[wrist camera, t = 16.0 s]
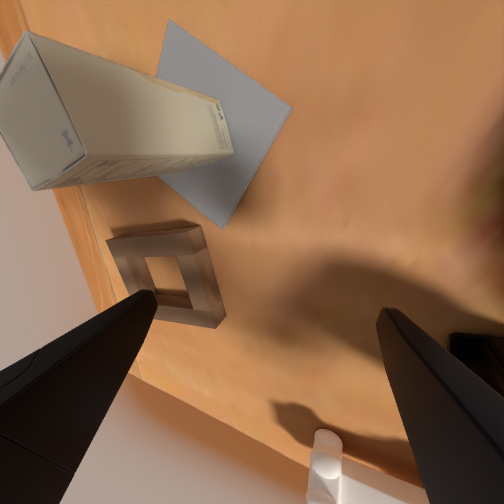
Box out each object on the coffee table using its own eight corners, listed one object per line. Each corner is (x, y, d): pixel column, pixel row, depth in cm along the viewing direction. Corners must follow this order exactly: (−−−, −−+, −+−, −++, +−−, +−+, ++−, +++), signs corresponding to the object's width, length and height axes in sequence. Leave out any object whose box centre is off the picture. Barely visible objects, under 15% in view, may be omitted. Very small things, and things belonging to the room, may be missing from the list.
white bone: (317, 447, 31) (307, 530, 25) (315, 413, 27) (301, 502, 21) (452, 502, 25) (485, 635, 18) (472, 468, 21) (524, 620, 14)
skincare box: (221, 98, 17) (25, 14, 7) (236, 156, 18) (89, 156, 8) (167, 127, 20) (-25, 98, 10) (183, 176, 21) (28, 193, 11)
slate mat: (292, 108, 16) (290, 106, 15) (224, 227, 22) (221, 229, 22) (174, 22, 17) (168, 18, 17) (142, 160, 24) (137, 160, 23)
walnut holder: (226, 315, 27) (215, 328, 25) (152, 306, 34) (138, 316, 32) (201, 225, 24) (186, 232, 22) (122, 234, 30) (105, 240, 28)
